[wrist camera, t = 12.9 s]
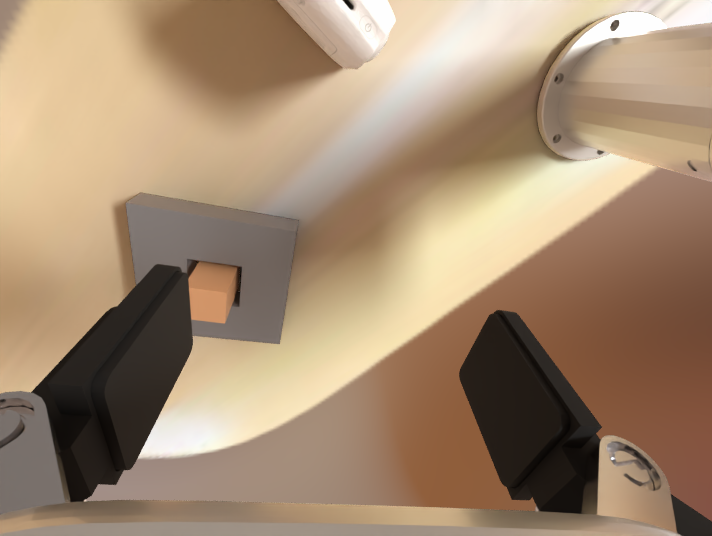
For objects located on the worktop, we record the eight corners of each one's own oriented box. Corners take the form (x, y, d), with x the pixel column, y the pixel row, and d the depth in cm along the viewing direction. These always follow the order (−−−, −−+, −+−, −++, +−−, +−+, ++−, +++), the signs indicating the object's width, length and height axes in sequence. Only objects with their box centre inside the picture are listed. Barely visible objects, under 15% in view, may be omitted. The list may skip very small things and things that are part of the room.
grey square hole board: (298, 220, 36) (296, 231, 34) (282, 328, 44) (279, 344, 41) (140, 192, 33) (125, 202, 30) (152, 314, 41) (141, 330, 38)
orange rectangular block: (241, 258, 38) (226, 292, 32) (239, 285, 40) (224, 323, 34) (205, 252, 37) (183, 286, 31) (204, 280, 39) (183, 318, 33)
